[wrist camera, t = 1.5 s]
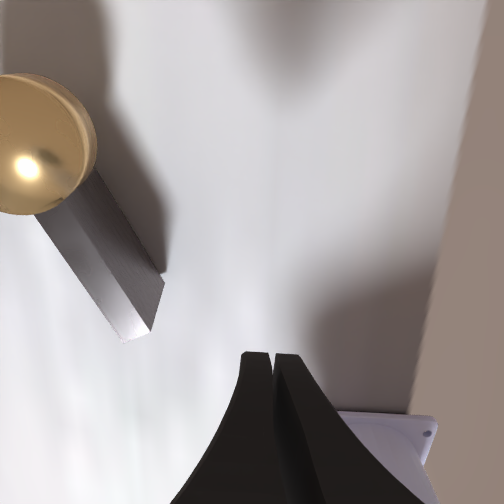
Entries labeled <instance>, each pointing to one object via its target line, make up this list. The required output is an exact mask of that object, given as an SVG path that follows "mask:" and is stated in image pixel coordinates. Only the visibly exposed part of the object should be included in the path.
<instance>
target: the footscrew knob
mask: <svg viewBox="0 0 504 504" xmlns="http://www.w3.org/2000/svg"><path fill="white" fill-rule="evenodd" d="M96 156H97V137H96V132H95V128H94V125H93V123H92V120H91V118H90V116H89V114H88V112H87V111H86V109H85V108H84V106H83V105H82V104H81V102H80V101H79V100H78V99H77V98H76V97H75V96H74V95H73V94H72V93H71V92H70V91H69V90H67V89H66V88H65V87H63V86H62V85H60V84H59V83H57V82H55V81H53V80H51V79H49V78H46V77H43V76H40V75H36V74H30V73H16V74H7V75H0V212H4V213H8V214H15V215H32V214H34V216H35V217H36V219H37V220H38V222H39V223H40V224H41V226H42V227H43V229H44V230H45V232H46V233H47V234H48V236H49V237H50V239H51V240H52V242H53V243H54V244H55V246H56V247H57V249H58V250H59V252H60V253H61V254H62V256H63V257H64V259H65V260H66V262H67V263H68V264H69V266H70V267H71V269H72V270H73V272H74V273H75V275H76V276H77V277H78V279H79V280H80V282H81V283H82V285H83V286H84V287H85V289H86V290H87V292H88V293H89V295H90V296H91V297H92V299H93V300H94V302H95V303H96V305H97V306H98V307H99V309H100V310H101V312H102V313H103V315H104V316H105V318H106V319H107V320H108V322H109V323H110V325H111V326H112V328H113V329H114V330H115V332H116V333H117V335H118V336H119V338H120V339H121V340H122V342H123V343H125V342H128V341H130V340H133V339H135V338H138V337H140V336H142V335H145V334H147V333H150V332H151V329H152V325H153V322H154V318H155V315H156V312H157V308H158V305H159V301H160V298H161V295H162V291H163V288H164V284H165V282H164V281H163V279H162V277H161V276H160V274H159V272H158V271H157V269H156V267H155V266H154V264H153V263H152V261H151V259H150V258H149V256H148V254H147V253H146V251H145V249H144V248H143V246H142V244H141V243H140V241H139V239H138V238H137V236H136V234H135V233H134V231H133V230H132V228H131V226H130V225H129V223H128V221H127V220H126V218H125V216H124V215H123V213H122V211H121V210H120V208H119V206H118V205H117V203H116V201H115V200H114V198H113V197H112V195H111V193H110V192H109V190H108V188H107V187H106V185H105V183H104V182H103V180H102V178H101V177H100V175H99V173H98V172H97V170H96V169H93V167H94V164H95V161H96Z"/></svg>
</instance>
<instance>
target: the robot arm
mask: <svg viewBox="0 0 504 504" xmlns="http://www.w3.org/2000/svg"><path fill="white" fill-rule="evenodd" d="M437 428H438V423H437V421H436V419H435V418H434V417H432V416H421V415H402V414H384V413H365V412H346V411H336V410H335V408H334V407H333V406H332V404H331V403H330V402H329V400H328V399H327V397H326V396H325V395H324V393H323V392H322V390H321V389H320V387H319V386H318V384H317V383H316V381H315V380H314V378H313V377H312V375H311V373H310V372H309V370H308V369H307V367H306V365H305V364H304V362H303V360H302V359H301V357H300V356H299V355H296V354H280V353H276V356H275V363H274V369H273V374H272V365H271V361H270V358H269V354H268V353H264V352H248V351H246V352H244V353H243V354H242V355H241V362H240V371H239V377H238V380H237V384H236V387H235V390H234V392H233V395H232V398H231V401H230V403H229V406H228V408H227V410H226V412H225V414H224V417H223V419H222V421H221V423H220V425H219V427H218V429H217V431H216V433H215V435H214V437H213V439H212V441H211V443H210V444H209V446H208V448H207V450H206V451H205V453H204V455H203V456H202V458H201V460H200V461H199V463H198V464H197V466H196V467H195V469H194V471H193V472H192V474H191V475H190V477H189V478H188V480H187V481H186V483H185V484H184V485H183V487H182V488H181V490H180V491H179V492H178V494H177V495H176V496H175V497H174V499H173V500H172V501H171V503H170V504H440V503H439V500H438V498H437V496H436V493H435V491H434V489H433V487H432V485H431V482H430V480H429V478H428V476H427V473H426V471H425V469H424V467H423V466H424V463H425V461H426V458H427V455H428V453H429V450H430V447H431V444H432V442H433V439H434V436H435V433H436V430H437ZM425 431H426V432H425Z"/></svg>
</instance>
